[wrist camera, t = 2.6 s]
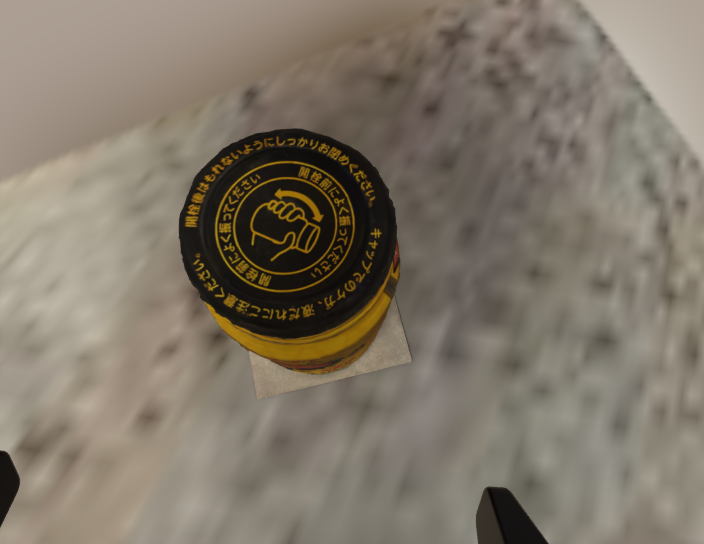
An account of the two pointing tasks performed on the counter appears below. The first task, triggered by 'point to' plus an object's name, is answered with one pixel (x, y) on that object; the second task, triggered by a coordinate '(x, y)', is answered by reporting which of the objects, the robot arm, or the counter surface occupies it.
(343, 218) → the condiment
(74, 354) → the counter surface
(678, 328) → the counter surface
